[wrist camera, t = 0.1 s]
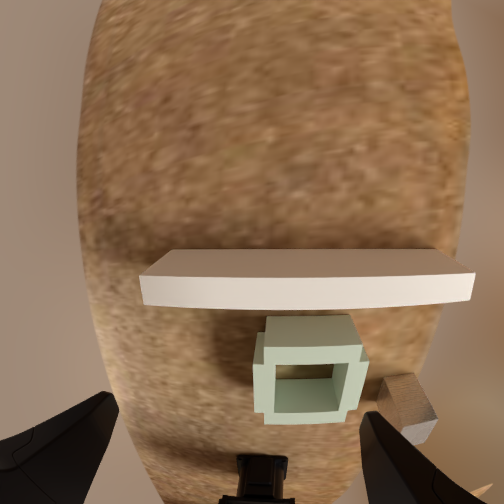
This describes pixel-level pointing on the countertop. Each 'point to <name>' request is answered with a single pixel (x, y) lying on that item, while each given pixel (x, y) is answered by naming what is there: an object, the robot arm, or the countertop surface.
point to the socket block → (306, 353)
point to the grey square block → (406, 407)
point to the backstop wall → (304, 279)
